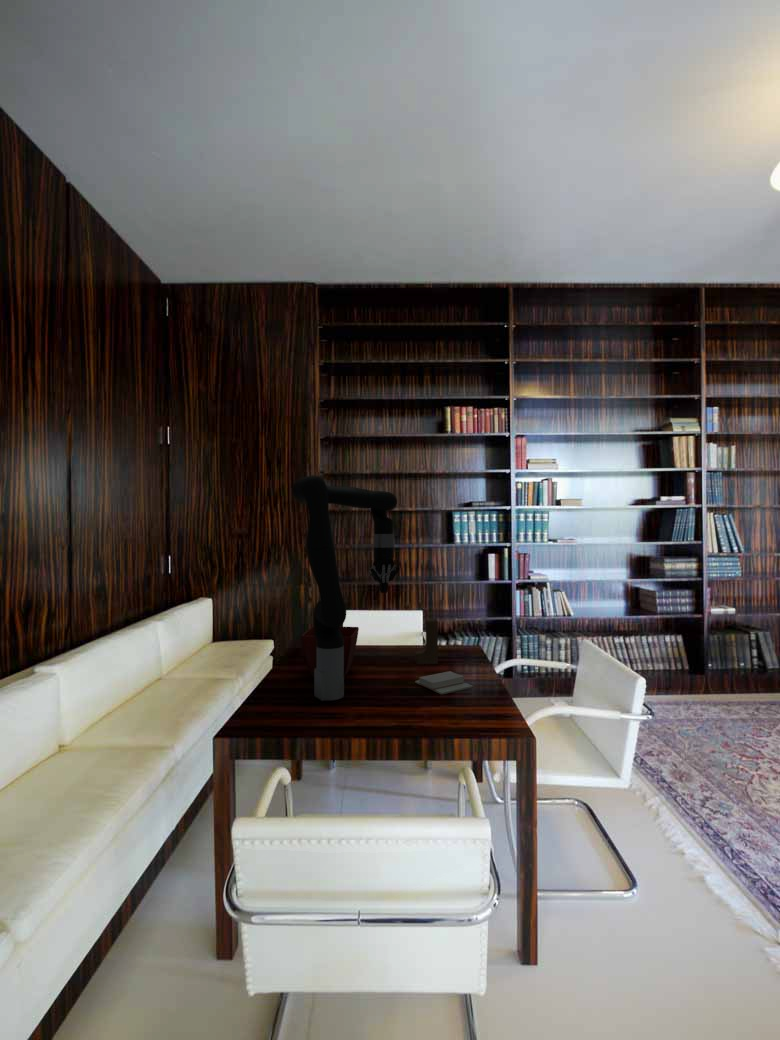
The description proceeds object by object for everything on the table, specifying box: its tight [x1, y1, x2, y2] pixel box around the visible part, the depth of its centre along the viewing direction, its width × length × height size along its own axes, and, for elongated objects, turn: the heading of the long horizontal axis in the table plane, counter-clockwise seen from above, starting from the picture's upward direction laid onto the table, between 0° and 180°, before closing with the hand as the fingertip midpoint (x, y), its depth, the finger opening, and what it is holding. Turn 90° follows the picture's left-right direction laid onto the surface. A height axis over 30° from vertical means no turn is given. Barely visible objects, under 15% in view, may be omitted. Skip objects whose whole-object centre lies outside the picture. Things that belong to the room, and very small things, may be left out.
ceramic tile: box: [418, 670, 465, 691], centre depth 193 cm, size 2×8×14 cm
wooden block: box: [414, 618, 439, 666], centre depth 223 cm, size 9×4×18 cm, turn 92°
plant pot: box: [301, 625, 360, 679], centre depth 208 cm, size 19×19×17 cm
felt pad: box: [414, 679, 474, 696], centre depth 193 cm, size 14×16×1 cm
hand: (383, 592), depth 197 cm, fingers closed
